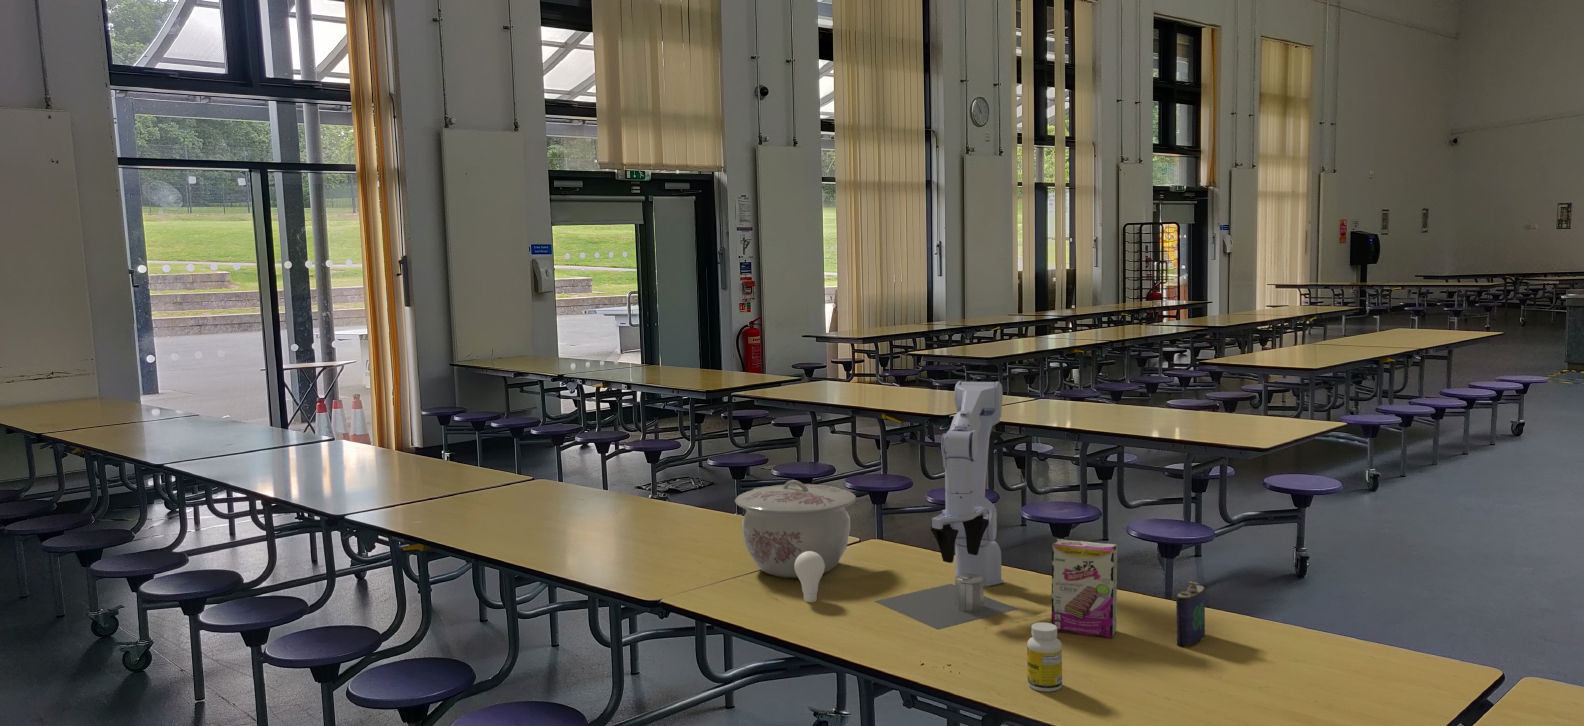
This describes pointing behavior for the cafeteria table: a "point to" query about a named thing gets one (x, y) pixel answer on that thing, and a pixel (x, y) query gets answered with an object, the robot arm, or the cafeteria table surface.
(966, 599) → the cylinder
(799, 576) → the lightbulb
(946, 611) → the base board
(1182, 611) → the flask
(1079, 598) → the candy bar box
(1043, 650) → the supplement bottle
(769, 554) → the chamber pot
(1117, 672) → the cafeteria table surface
